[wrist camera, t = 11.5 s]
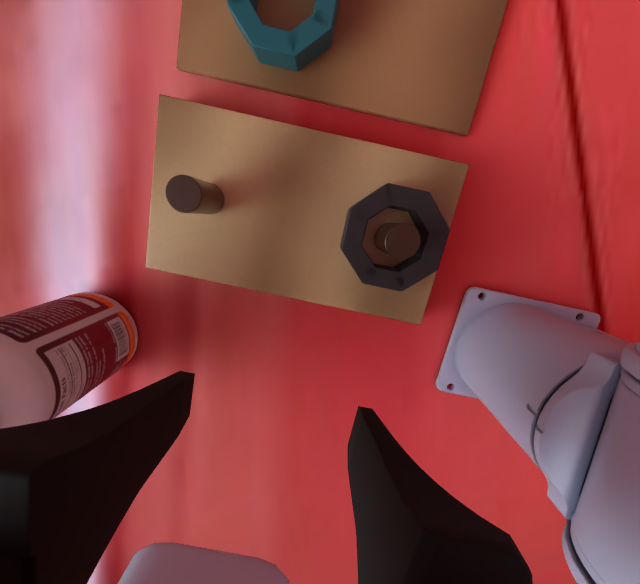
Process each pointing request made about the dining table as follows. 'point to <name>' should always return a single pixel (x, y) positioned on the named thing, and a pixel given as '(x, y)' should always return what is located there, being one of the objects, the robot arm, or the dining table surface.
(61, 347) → the pill bottle
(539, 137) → the dining table surface
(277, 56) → the teal ring
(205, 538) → the dining table surface
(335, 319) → the dining table surface
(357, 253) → the charcoal ring
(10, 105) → the dining table surface
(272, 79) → the cork mat
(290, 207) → the peg board
